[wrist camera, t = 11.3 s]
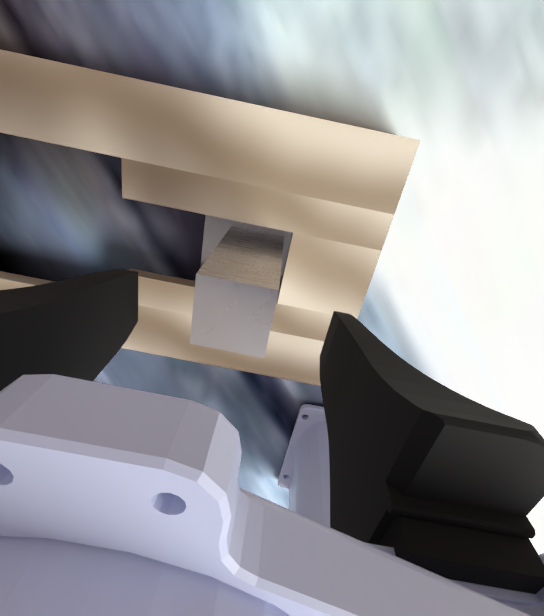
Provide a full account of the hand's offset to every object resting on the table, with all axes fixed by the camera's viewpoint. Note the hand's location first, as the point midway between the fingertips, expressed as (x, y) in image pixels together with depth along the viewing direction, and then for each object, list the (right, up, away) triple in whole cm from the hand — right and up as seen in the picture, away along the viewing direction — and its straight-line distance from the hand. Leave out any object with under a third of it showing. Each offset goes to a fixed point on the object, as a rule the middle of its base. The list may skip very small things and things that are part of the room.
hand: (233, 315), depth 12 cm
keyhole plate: (-5, +5, +7) cm, 10 cm away
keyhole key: (0, +4, +8) cm, 9 cm away
